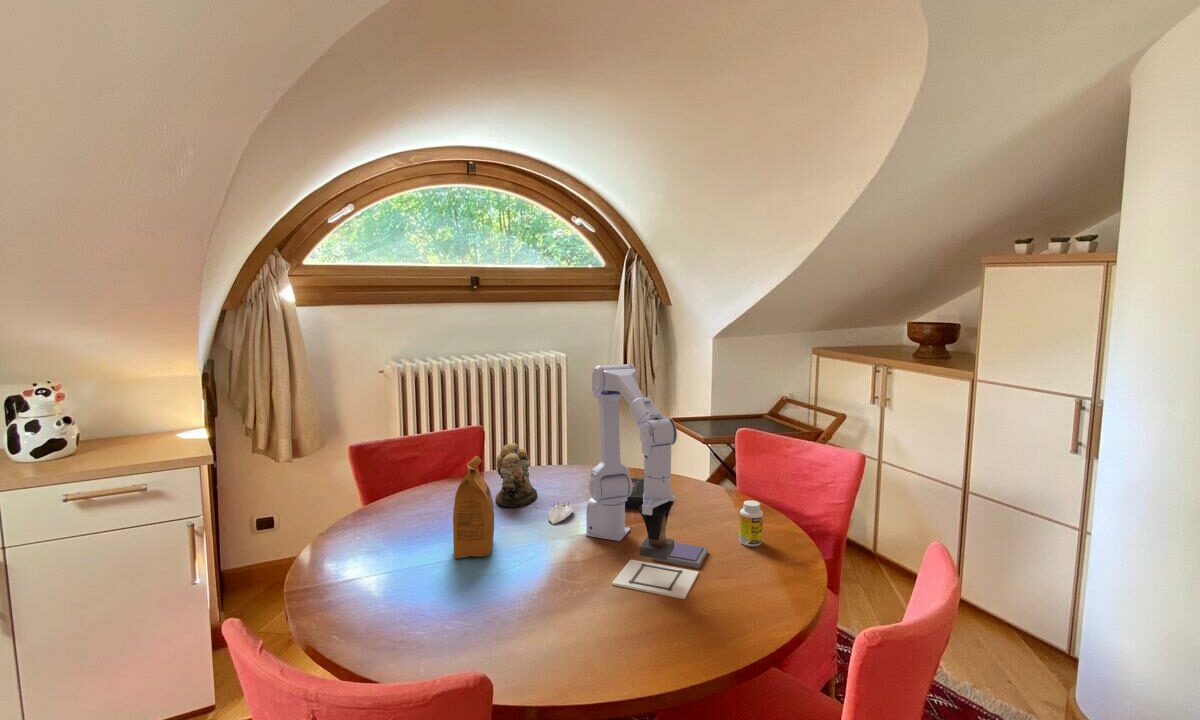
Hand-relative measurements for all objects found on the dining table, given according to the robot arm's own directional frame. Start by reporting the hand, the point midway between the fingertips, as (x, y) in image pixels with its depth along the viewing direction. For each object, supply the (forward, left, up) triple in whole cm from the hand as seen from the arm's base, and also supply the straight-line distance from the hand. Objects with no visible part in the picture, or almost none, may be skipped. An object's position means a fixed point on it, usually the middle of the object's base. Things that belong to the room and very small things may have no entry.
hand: (656, 535), depth 137 cm
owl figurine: (-53, +32, -10) cm, 63 cm away
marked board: (0, 0, -10) cm, 10 cm away
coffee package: (-45, -2, -10) cm, 46 cm away
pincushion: (-35, +25, -10) cm, 44 cm away
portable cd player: (-21, +45, -11) cm, 51 cm away
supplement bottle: (+16, +27, -10) cm, 33 cm away
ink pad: (+2, +13, -10) cm, 17 cm away
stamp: (0, 0, -4) cm, 4 cm away
